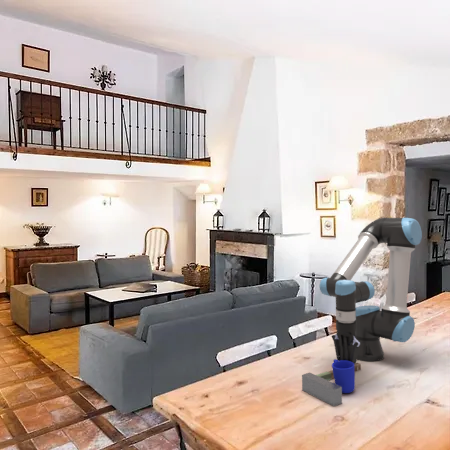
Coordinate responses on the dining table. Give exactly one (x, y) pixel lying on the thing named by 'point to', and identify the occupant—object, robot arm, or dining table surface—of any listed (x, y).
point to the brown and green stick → (330, 375)
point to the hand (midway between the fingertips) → (346, 380)
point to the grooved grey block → (322, 389)
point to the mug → (344, 375)
